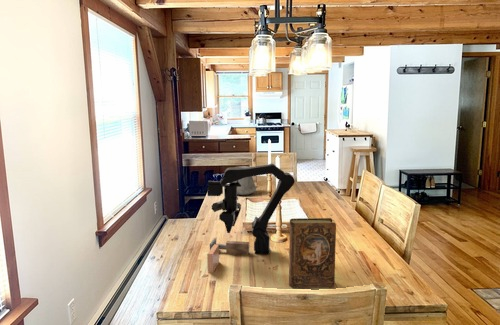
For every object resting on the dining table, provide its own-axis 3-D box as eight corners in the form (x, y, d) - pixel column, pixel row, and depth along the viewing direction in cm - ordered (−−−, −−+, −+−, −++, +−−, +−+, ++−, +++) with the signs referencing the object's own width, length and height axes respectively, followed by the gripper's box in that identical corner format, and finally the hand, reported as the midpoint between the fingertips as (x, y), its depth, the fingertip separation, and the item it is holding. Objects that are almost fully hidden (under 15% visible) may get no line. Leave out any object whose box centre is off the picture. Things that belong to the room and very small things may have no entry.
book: (290, 288, 137) (290, 223, 133) (288, 281, 142) (288, 218, 138) (334, 287, 137) (336, 222, 133) (330, 280, 143) (332, 217, 139)
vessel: (248, 199, 263) (248, 171, 260) (223, 195, 275) (222, 168, 271) (263, 192, 282) (263, 166, 278) (239, 189, 293) (239, 164, 290)
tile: (219, 262, 160) (218, 244, 158) (213, 272, 150) (212, 254, 148) (213, 261, 160) (213, 244, 159) (207, 272, 150) (207, 253, 149)
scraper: (249, 250, 172) (249, 239, 172) (247, 257, 165) (246, 246, 164) (214, 248, 175) (214, 237, 174) (209, 254, 167) (209, 244, 166)
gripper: (218, 190, 176) (218, 222, 178) (207, 200, 158) (208, 235, 160) (241, 191, 174) (241, 223, 177) (233, 201, 156) (233, 237, 158)
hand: (230, 229), depth 168 cm, fingers open, 9 cm apart
